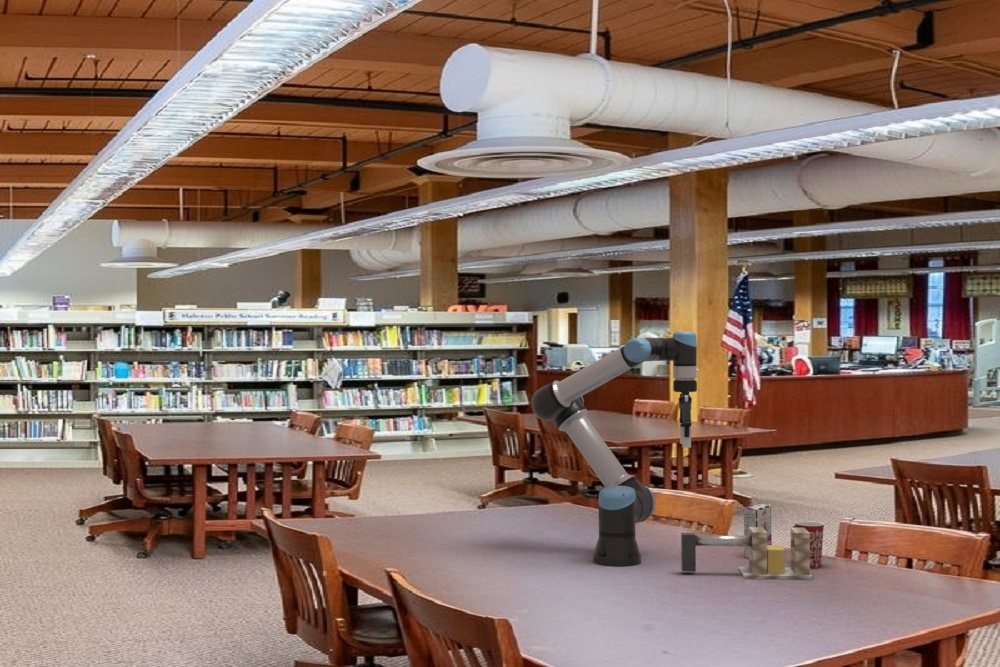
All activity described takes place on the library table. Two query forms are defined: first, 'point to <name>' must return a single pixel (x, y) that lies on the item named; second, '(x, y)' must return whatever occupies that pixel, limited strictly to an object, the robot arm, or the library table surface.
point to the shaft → (692, 540)
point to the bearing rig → (759, 556)
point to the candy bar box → (757, 521)
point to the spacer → (775, 559)
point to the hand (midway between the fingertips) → (685, 445)
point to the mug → (813, 540)
